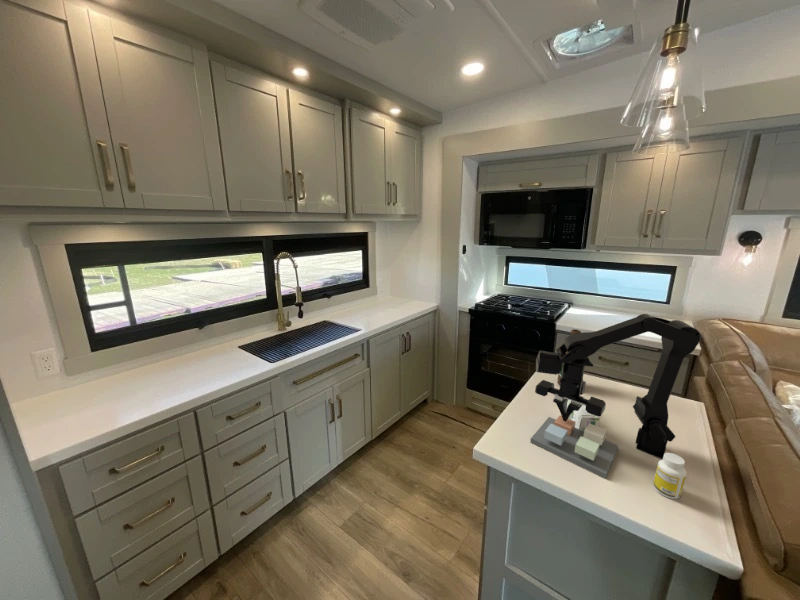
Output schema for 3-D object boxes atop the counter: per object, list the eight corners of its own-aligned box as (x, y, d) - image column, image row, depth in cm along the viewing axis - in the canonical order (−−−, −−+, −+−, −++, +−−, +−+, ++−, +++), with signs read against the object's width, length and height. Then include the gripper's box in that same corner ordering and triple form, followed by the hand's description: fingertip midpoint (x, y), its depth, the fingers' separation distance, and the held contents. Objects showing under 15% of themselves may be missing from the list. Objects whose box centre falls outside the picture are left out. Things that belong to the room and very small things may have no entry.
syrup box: (575, 407, 116) (598, 433, 102) (559, 406, 116) (579, 432, 102) (578, 393, 114) (601, 417, 100) (561, 392, 115) (582, 417, 101)
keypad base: (617, 449, 95) (618, 445, 94) (605, 478, 84) (606, 474, 84) (548, 420, 108) (549, 416, 108) (530, 442, 98) (530, 438, 97)
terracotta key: (574, 428, 102) (575, 421, 101) (569, 435, 98) (570, 428, 98) (558, 421, 105) (559, 415, 104) (553, 428, 101) (554, 421, 101)
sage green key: (598, 451, 90) (599, 444, 89) (593, 460, 86) (595, 453, 86) (579, 443, 93) (580, 436, 92) (574, 451, 90) (575, 444, 89)
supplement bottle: (667, 481, 83) (675, 450, 81) (686, 499, 78) (695, 466, 76) (647, 482, 83) (655, 450, 81) (664, 500, 78) (673, 466, 75)
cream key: (605, 437, 96) (606, 430, 95) (601, 445, 92) (602, 438, 92) (587, 430, 99) (589, 423, 98) (583, 437, 95) (584, 430, 95)
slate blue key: (566, 437, 95) (567, 430, 95) (560, 445, 92) (562, 438, 91) (549, 430, 99) (550, 423, 98) (543, 437, 95) (544, 430, 95)
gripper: (614, 377, 96) (605, 422, 100) (550, 358, 109) (544, 399, 113) (605, 391, 88) (595, 439, 92) (537, 369, 101) (531, 412, 105)
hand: (565, 420), depth 101 cm, fingers closed
